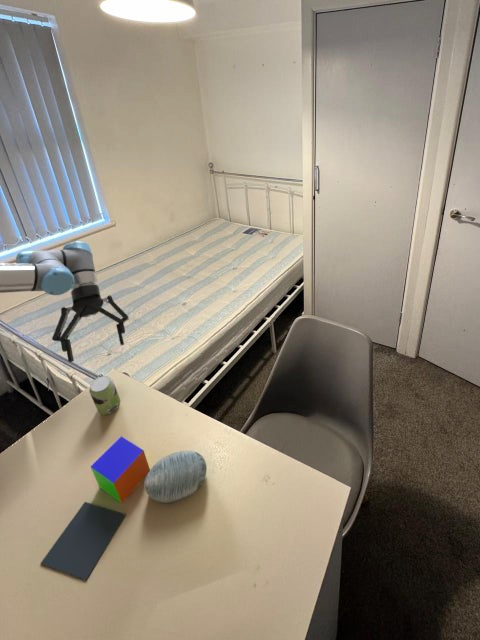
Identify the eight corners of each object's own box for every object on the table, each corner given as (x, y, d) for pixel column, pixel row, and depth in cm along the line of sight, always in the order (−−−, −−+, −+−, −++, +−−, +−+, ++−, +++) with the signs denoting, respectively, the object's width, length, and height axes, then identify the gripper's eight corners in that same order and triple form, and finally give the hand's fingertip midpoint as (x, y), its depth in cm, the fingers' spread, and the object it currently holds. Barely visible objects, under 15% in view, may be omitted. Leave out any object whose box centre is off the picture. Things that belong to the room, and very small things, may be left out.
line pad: (40, 564, 65) (40, 563, 65) (85, 502, 74) (84, 501, 74) (86, 580, 62) (85, 580, 62) (126, 515, 72) (125, 514, 72)
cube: (128, 456, 84) (121, 436, 81) (150, 470, 81) (143, 450, 77) (99, 486, 77) (90, 466, 74) (121, 503, 74) (113, 483, 71)
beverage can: (117, 395, 101) (107, 367, 96) (125, 410, 96) (115, 381, 91) (95, 407, 97) (83, 379, 92) (102, 424, 92) (90, 394, 87)
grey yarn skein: (210, 445, 83) (195, 442, 75) (214, 490, 78) (197, 492, 69) (159, 461, 83) (138, 460, 75) (159, 507, 77) (136, 512, 69)
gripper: (128, 280, 112) (142, 339, 107) (41, 302, 101) (51, 369, 95) (126, 274, 106) (141, 336, 100) (32, 296, 94) (43, 368, 89)
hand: (97, 352), depth 98 cm, fingers open, 13 cm apart
